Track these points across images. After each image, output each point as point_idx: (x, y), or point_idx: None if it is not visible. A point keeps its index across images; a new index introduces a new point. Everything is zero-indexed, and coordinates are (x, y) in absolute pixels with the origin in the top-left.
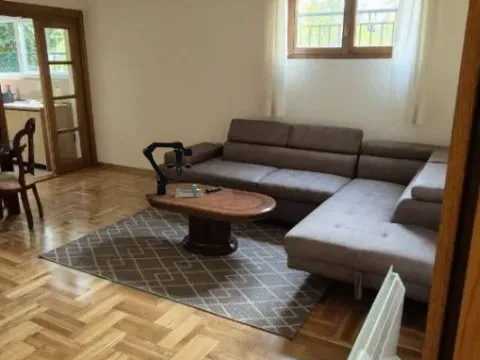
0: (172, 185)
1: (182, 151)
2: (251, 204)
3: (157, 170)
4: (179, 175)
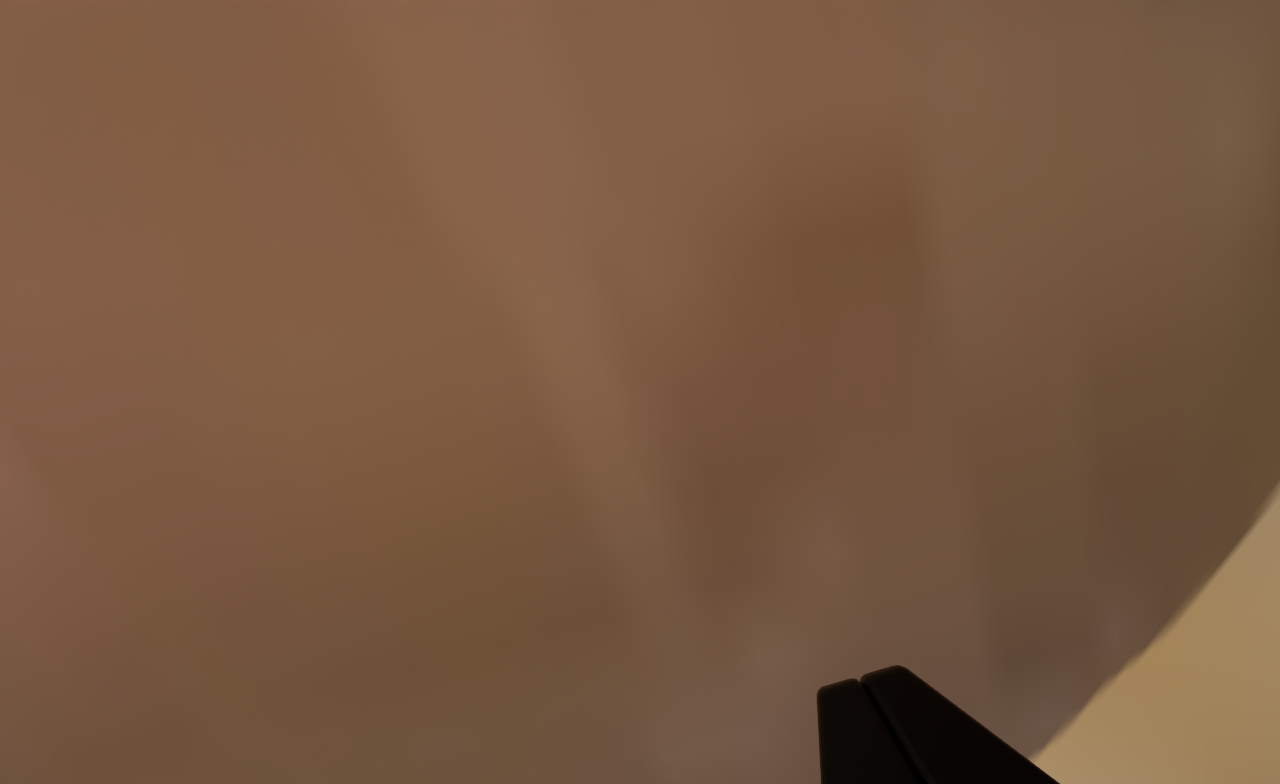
0: None
1: None
2: None
3: None
4: (892, 751)
